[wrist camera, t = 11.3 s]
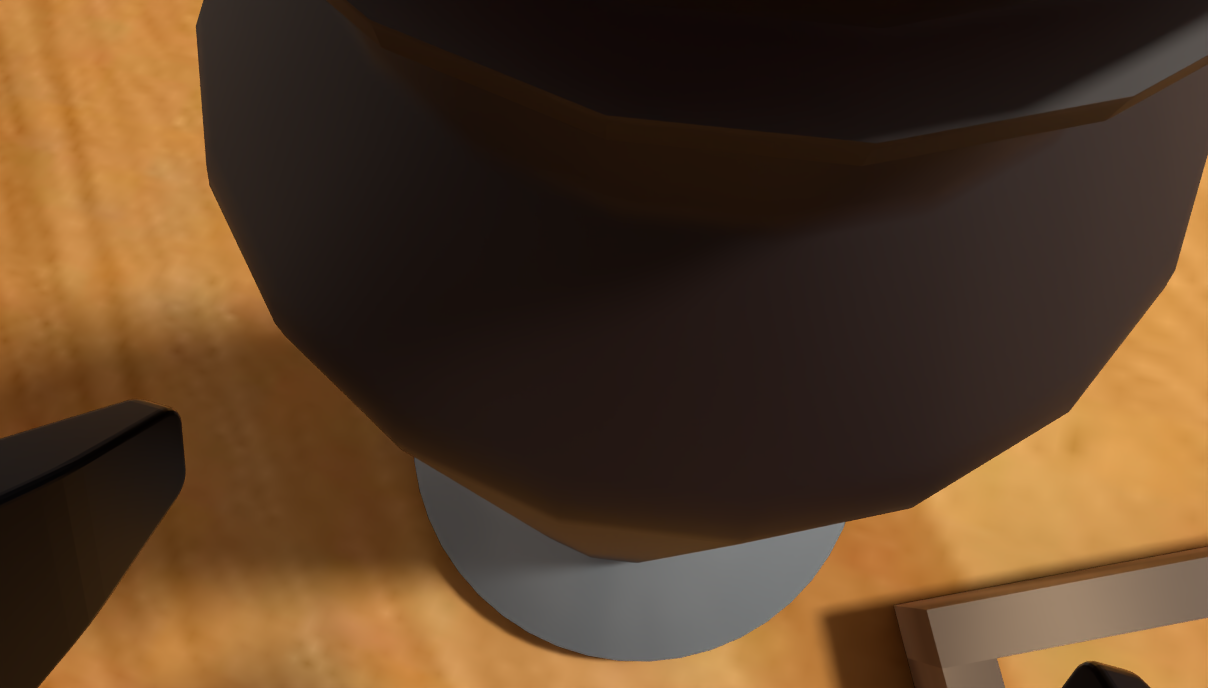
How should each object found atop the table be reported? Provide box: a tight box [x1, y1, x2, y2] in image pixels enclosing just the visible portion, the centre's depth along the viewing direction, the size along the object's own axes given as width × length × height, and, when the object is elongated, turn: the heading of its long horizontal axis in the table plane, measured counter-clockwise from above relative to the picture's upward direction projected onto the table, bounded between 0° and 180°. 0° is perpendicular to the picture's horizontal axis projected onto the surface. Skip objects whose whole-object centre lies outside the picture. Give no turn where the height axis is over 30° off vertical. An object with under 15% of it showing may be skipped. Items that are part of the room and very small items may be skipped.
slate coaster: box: [414, 457, 845, 661], centre depth 20 cm, size 11×11×1 cm
